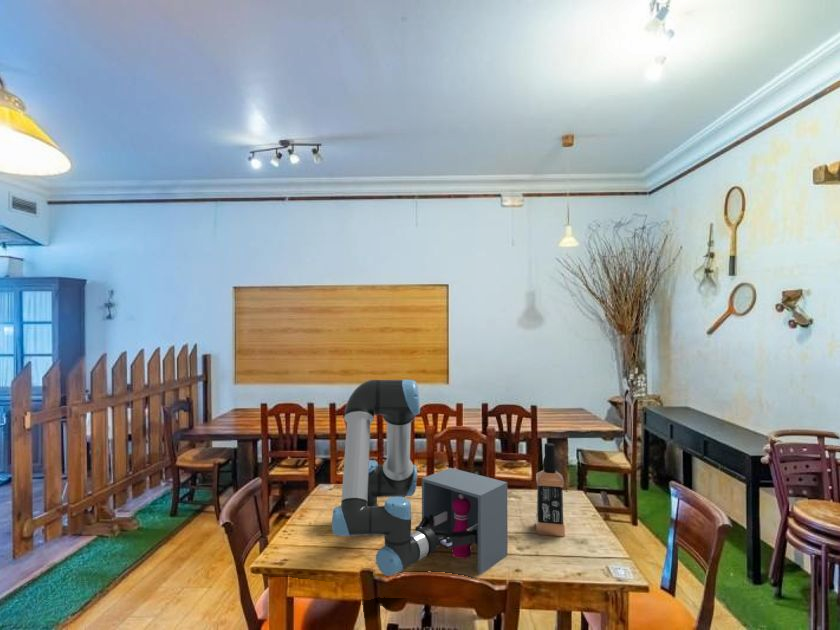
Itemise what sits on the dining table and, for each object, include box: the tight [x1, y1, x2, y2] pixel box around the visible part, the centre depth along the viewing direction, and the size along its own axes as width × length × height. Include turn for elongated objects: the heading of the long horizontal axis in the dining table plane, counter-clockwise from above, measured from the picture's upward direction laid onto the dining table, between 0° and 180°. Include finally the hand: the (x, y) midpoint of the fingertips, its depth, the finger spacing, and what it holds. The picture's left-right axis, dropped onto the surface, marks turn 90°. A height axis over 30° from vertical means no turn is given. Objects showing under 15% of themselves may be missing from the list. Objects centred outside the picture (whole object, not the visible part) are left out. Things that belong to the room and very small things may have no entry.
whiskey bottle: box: [535, 442, 566, 537], centre depth 171 cm, size 10×10×32 cm
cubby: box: [421, 467, 508, 575], centre depth 154 cm, size 24×16×24 cm, turn 49°
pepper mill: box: [451, 493, 472, 559], centre depth 152 cm, size 7×7×20 cm
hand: (462, 521), depth 152 cm, fingers open, 13 cm apart
